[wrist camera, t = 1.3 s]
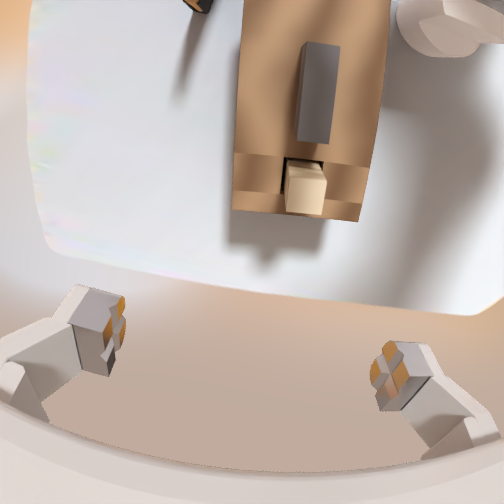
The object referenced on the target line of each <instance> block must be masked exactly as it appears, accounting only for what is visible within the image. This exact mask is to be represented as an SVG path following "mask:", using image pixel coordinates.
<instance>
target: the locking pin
mask: <svg viewBox="0 0 504 504" xmlns="http://www.w3.org/2000/svg"><path fill="white" fill-rule="evenodd" d="M283 182H284V194H285V207H286V212H295V213H305V214H315V215H321V214H322V208H323V203H324V197H325V191H326V185H327V180H326V178H325V176H324V174H323V172H322V170H321V168H320V166H319V163H318V161H317V160H308V159H300V158H291V157H285V159H284V168H283Z"/></svg>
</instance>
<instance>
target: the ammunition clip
mask: <svg viewBox="0 0 504 504" xmlns="http://www.w3.org/2000/svg"><path fill="white" fill-rule="evenodd" d="M183 2H184V3H185V4H187V5H188V6H189V7H190V8H191V9H192V10H193V11H196V12H200V13H205V14H207V13H208V12H209V10H210V7H211V5H212V3H213V0H183Z"/></svg>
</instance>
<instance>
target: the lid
mask: <svg viewBox="0 0 504 504" xmlns="http://www.w3.org/2000/svg"><path fill="white" fill-rule="evenodd" d="M390 5H391V0H244V7H243V20H242V33H241V47H240V62H239V77H238V93H237V109H236V127H235V146H234V166H233V187H232V210H242V211H254V212H265V213H276V214H286V215H297V216H306V217H316V218H325V219H334V220H343V221H352V222H358V220H359V216H360V211H361V207H362V203H363V198H364V193H365V189H366V184H367V179H368V174H369V169H370V164H371V159H372V154H373V148H374V143H375V137H376V131H377V125H378V119H379V112H380V106H381V99H382V91H383V84H384V75H385V67H386V57H387V47H388V36H389V22H390ZM284 157H291V158H300V159H308V160H317V161H322V162H321V170H322V172H323V174H324V176H325V178H326V180H327V185H326V191H325V197H324V203H323V208H322V214H321V215H315V214H305V213H295V212H286V207H285V194H284V190H280V187H281V178H282V168H283V159H284Z"/></svg>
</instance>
